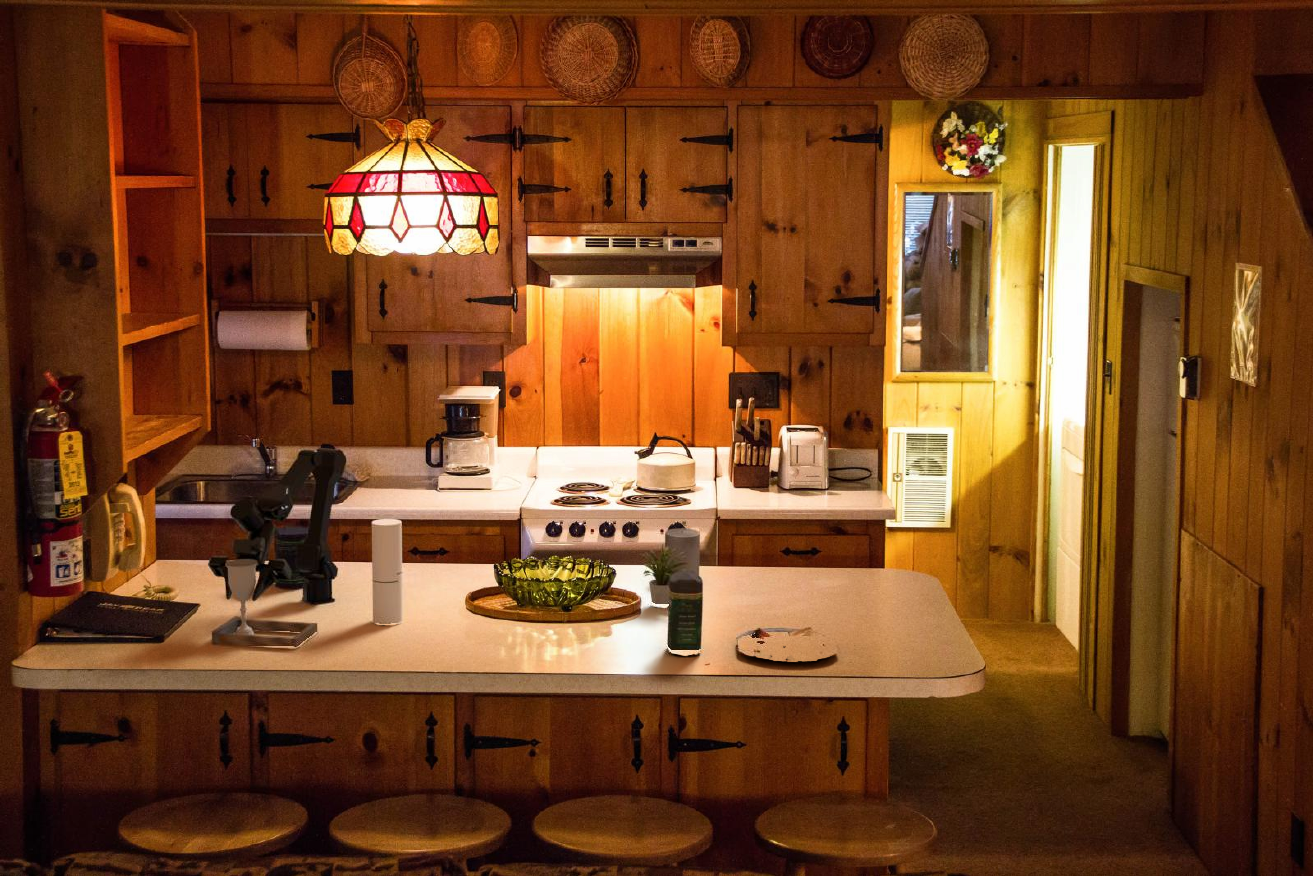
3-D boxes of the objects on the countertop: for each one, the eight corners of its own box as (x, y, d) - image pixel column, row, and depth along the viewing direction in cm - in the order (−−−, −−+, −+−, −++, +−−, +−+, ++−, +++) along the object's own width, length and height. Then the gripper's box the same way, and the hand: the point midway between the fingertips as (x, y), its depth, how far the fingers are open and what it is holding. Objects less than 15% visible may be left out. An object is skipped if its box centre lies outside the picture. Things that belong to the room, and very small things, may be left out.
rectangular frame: (317, 633, 347) (317, 621, 346) (296, 649, 334) (296, 637, 333) (235, 628, 349) (235, 616, 349) (212, 644, 337) (211, 631, 336)
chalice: (231, 643, 338) (228, 568, 335) (225, 635, 344) (222, 561, 341) (263, 639, 341) (260, 564, 338) (256, 631, 347) (254, 557, 344)
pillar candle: (666, 575, 407) (667, 522, 405) (701, 577, 406) (702, 524, 403) (661, 584, 398) (662, 531, 395) (697, 586, 396) (698, 532, 394)
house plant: (657, 617, 365) (658, 554, 363) (621, 605, 375) (622, 544, 373) (698, 608, 374) (700, 546, 372) (663, 596, 385) (664, 536, 382)
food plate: (735, 633, 353) (735, 619, 352) (831, 637, 352) (832, 623, 351) (737, 669, 328) (738, 654, 327) (841, 673, 327) (842, 658, 327)
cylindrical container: (408, 620, 359) (407, 520, 355) (391, 627, 352) (390, 526, 349) (384, 616, 362) (383, 517, 358) (366, 623, 355) (365, 523, 351)
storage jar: (320, 584, 391) (319, 529, 389) (293, 591, 383) (292, 536, 380) (294, 578, 396) (293, 524, 394) (266, 585, 388) (265, 531, 386)
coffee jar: (702, 658, 334) (704, 579, 331) (668, 657, 333) (670, 578, 330) (699, 645, 343) (701, 568, 340) (666, 645, 343) (667, 568, 340)
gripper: (209, 522, 343) (190, 580, 334) (285, 526, 341) (268, 584, 332) (225, 547, 352) (206, 603, 343) (299, 550, 350) (282, 608, 341)
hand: (240, 599), depth 340 cm, fingers closed on chalice, 6 cm apart
